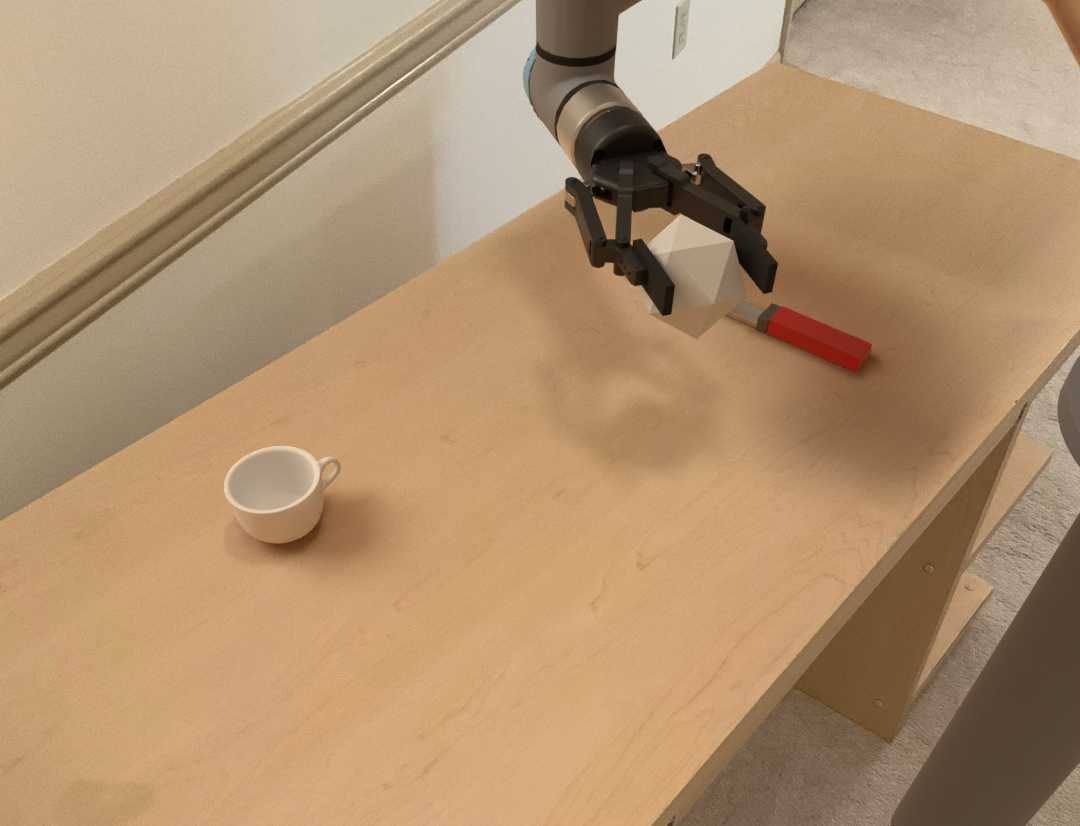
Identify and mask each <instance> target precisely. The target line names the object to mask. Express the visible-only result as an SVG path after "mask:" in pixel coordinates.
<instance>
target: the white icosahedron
mask: <svg viewBox="0 0 1080 826" xmlns="http://www.w3.org/2000/svg"><path fill="white" fill-rule="evenodd" d="M646 245H647V247H648V248H649V249H650V251H651V252H652V254H653V255H654V256H655V258H656V259H657V261H658V262H659V263H660V265H661V266H662V268H663V269H664V270H665V272H666V273H667V275H668V276H669V277H670V279H671V280H672V282H673V283H674V284H675V290H674V298H673V306H672V313H671V315H666V316H662V315H661V313H660V312H659V310H658V309H657V307H656V306H655V304H654V303H653V302H652V300H651V299H650V297H649V296H648V294H647V293H646V291H645V290H644V288H643V287H642V285H640V286H639V289H640V292H641V295H642V298H643V301H644V304H645V307H646V310H647V312H648V314H649V315H650V316H652V317H654V318H655V319H658V320H660V321H661V322H663V323H665V324H667V325H668V326H671V327H673V328H674V329H676V330H678V331H680V332H682V333H684V334H686V335H688V336H690V337H692V338H694V339H695V340H698V339H700V337H702V336H703V335H704V334H705V333H706V332H707V331H708V330H710V329H711V328H712V327H713V326H714V325H715V324H717V323H718V322H719V321H720V320H721V319H722V318H724V317H725V316H727V315H726V314H727V313H728V312H730V311H731V310H732V309H733V308H734V307H735V306H737V305H738V304H739V303H740V302H741V301H743V300H744V301H745V299H746V298H747V297H748V294H747V289H746V285H745V281H744V277H743V273H742V270H741V265H740V264H739V261H738V257H737V253H736V249H735V245H734V241H733V240H731V239H729V238H727V237H725V236H723V235H721V234H719V233H717V232H715V231H713V230H711V229H709V228H707V227H705V226H703V225H701V224H699V223H697V222H695V221H693V220H691V219H690V218H688V217H686V216H684V215H682V214H679V215H678V216H677V217H676V218H675V219H674V220H672V221H671V223H669V225H667V226H666V227H665V228H664V229H663V230H662V231H660V232H659V233H658V234H657V235H656V236H654V237H653V239H651V240H650V241H649V242H648V243H647V244H646Z"/></svg>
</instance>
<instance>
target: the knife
mask: <svg viewBox="0 0 1080 826" xmlns="http://www.w3.org/2000/svg"><path fill="white" fill-rule="evenodd" d="M725 316H727V317H729V318H732V319H734V320H735V321H739V322H740V323H742V324H746V325H748V326H750V327H752V328H755V330H757V331H759V332H761V333H763V334H766V335H770V336H771V337H774V338H776V339H778V340H781V341H783V342H786V343H788V344H790V345H792V346H794V347H796V348H799V349H801V350H804V351H805V352H808V353H810V354H813V355H815V356H817V357H820V358H822V359H824V360H827V361H829V362H831V363H833V364H836V365H838V366H840V367H842V368H845V369H847V370H849V371H852V372H853V373H857V372H858V371H859V369H860V368H861V367H862V366H863V364H865V362H867V360H868V359H869V356H870V353H871V351H872V347H873V343H871V342H869V341H867V340H864V339H862V338H859V337H857V336H855V335H852V334H850V333H847V332H846V331H843V330H840V329H838V328H836V327H833V326H831V325H828V324H826V323H824V322H822V321H819V320H817V319H814V318H812V317H810V316H808V315H805V314H804V313H801V312H798V311H795V310H794V309H791V308H789V307H786V306H784V305H782V306H781V305H779V304H776V303H774V302H772V303H771V304H770V305H768V306H767V307H766V308H763V307H760V306H758V305H756V304H753V303H751V302H748V301H746V300H745V299H744V300H743V301H741V302H740V303H739V304H738V305H737V306H735V307H734V308H733V309H732V310H731V311H730V312H728V313H727V314H726V315H725Z"/></svg>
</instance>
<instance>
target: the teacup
mask: <svg viewBox="0 0 1080 826" xmlns="http://www.w3.org/2000/svg"><path fill="white" fill-rule="evenodd" d="M330 463H331V464H332V463H334V468H333V470H332V472H331V473H330V474H329V475H328V476H327V477H325V478H324V479H323V474H324V471H325V469H326V467H327V466H328V465H329V464H330ZM341 470H342V464H341V462H340V460H339V458H337V457H335V456H333V455H330V456H325V457H323V458H321V459H319V460H317V459H316V458H315V456H313V455H312V453H309V451H307V450H304V449H302V448H299V447H297V446H296V447H295V446H292V445H291V446H290V445H273V446H267V447H263V448H260V449H257V450H254V451H251V452H249V453H248V454H246V455H244V456H242V457H241V458H240V459H239V460H238V461H236V462H235V463H234V464H233V465H232V466H231V467H230V468H229V470H228V471H227V474H226V475H225V478H224V481H223V491H224V495H225V497H226V500H227V502H228V504H229V507H230V509H231V511H232V513H233V515H234V517H235V518H236V520H237V522H238V523H239V525H240V526H241V527H242V529H243V530H244V531H245V532H246V533H247V534H248V535H249V536H251V537H253V538H254V539H256V540H259V541H260V542H264V543H268V544H278V545H279V544H287V543H291V542H294V541H297V540H299V539H301V538H303V537H304V536H306V535H307V534H309V533H310V532H311V531H312V530H313V529H314V528H315V527H316V525H317V524H318V522H319V521H320V518H321V516H322V514H323V509H324V505H325V504H324V503H325V494H324V491H326V489H327V488H328V487H329V486H330V485H331V484H332V483H333V482H334V480H336V479H337V478H338V476H339V474H340V473H341Z"/></svg>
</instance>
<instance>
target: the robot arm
mask: <svg viewBox="0 0 1080 826" xmlns="http://www.w3.org/2000/svg"><path fill="white" fill-rule="evenodd" d="M641 1H642V0H535V46H534V48H533V49H532V50H531V51H530V53H529V55H528V58H527V59H526V62H525V65H524V66H523V71H522V85H523V89H524V93H525V95H526V97H527V99H528V101H529V104H530V105H531V107H532V111H533V112H534V113H535V115H536V117H537V118H538V119H539V121H541V122H542V124H543V125H544V126H545V127H546V129H547V130H548V132H549V133H550V134H551V136H552V137H553V138H554V140H555V141H556V142H557V144H558V145H559V146H560V148H561V149H562V150H563V152H564V153H565V155H566V156H567V158H568V159H569V160H570V162H571V163H572V165H573V166H574V168H575V169H576V170H577V172H578V175H579V176H580V178H581V179H582V180H583V181H581V180H580V179H579V178H577V177H576V176H575V177H574V176H570V177H567V178H565V179H564V208H565V209H566V210H567V212H569V213H570V214H571V215H572V217H574V218H575V221H576V224H577V227H578V231H579V233H580V236H581V237H580V238H581V240H582V243H583V246H584V249H585V252H586V255H587V259H588V261H589V264H590V266H591V267H593V268H596V269H601V268H604V267H605V266H606V264H613V266H612V267H613V268H612V270H613V271H612V272H613V274H614V276H616V277H617V276H618V277H625V278H626V279H627V281H628V282H629V284H631V285H632V286H634V287H640V285H642V287H643V288H644V290H645V291H646V293H647V294H648V296H649V297H650V299H651V300H652V302H653V303H654V304H655V306H656V307H657V309H658V310H659V312H660V313H661V315H662V316H666V315H671V313H672V306H673V298H674V290H675V284H674V283H673V282H672V280H671V279H670V277H669V276H668V275H667V273H666V272H665V270H664V269H663V268H662V266H661V265H660V263H659V262H658V261H657V259H656V258H655V256H654V255H653V254H652V252H651V251H650V249H649V248H648V247H647V244H646V242H645V241H644V240H643V238H635V239H633V240H632V239H631V238H632V218H633V217H632V215H633V214H632V213H634V214H635V213H641V212H645V211H647V210H649V209H662V210H663V211H665V212H667V213H669V214H671V215H673V216H677V215H683V216H685V217H687V218H689V219H691V220H693V221H695V222H697V223H699V224H701V225H703V226H705V227H707V228H709V229H711V230H713V231H715V232H717V233H719V234H721V235H723V236H725V237H727V238H729V239H731V240H733V241H734V245H735V249H736V253H737V257H738V261H739V265H740V268H742V269H743V270H744V272H745V273H746V274H747V276H748V277H749V278H750V279H751V281H753V282H752V283H754V284H755V286H756V287H757V288H758V289H759V290H760V292H761V293H762V294H763V295H766V294H770V293H773V291H774V285H775V282H776V276H777V271H778V267H779V262H778V261H777V260H776V259H775V257H774V256H773V255H772V254H771V253H770V251H768V246H769V245H768V240H767V239H766V238H765V237H764V235H763V234H762V230H763V226H764V220H765V216H766V211H767V210H766V209H767V206H766V204H764V203H763V202H762V201H760V199H758V198H757V197H755V196H754V195H753V194H752V193H750V192H749V191H748V190H747V189H746V188H744V187H743V186H742V185H741V184H739V183H738V182H737V181H735V180H734V179H733V178H732V177H731V176H729V175H728V174H726V173H725V172H724V171H723V170H722V169H720V168H719V167H718V166H717V165H716V163H715V161H714V158H713V156H711V155H710V154H709V153H705V152H704V153H699V154H698V155H697V160H696V162H689V163H682V162H681V161H680V160H679V159H678V158H676V157H675V156H672V155H670V154H669V153H668V151H667V149H666V147H665V145H664V142H663V140H662V138H661V136H660V135H659V133H658V132H657V130H655V128H654V127H653V126H652V125H651V123H649V121H648V120H647V119H646V117H645V116H644V115H643V113H642V112H641V111H640V110H639V109H638V107H637V106H636V105H635V103H633V101H632V100H631V99H630V98H629V97H628V96H627V95H626V93H625V92H624V91H623V90H622V88H621V87H620V86H619V85H618V83H617V82H616V81H615V66H616V55H617V53H616V52H617V45H618V30H619V17H620V15H622V14H623V13H624V12H626V11H628V10H629V9H630V8H632V7H633V6H635V5H637V4H638V3H640V2H641ZM1040 1H1041V2H1042V3H1044V4H1045V5H1046V7H1047V9H1048V11H1049V13H1050V15H1051V16H1052V19H1053V20H1054V22H1055V24H1056V26H1057V29H1058V30H1059V31H1060V33H1061V35H1062V37H1063V39H1064V41H1065V43H1066V45H1067V46H1068V48H1069V51H1070V52H1071V54H1072V57H1073V58H1074V60H1075V62H1076V64H1077V66H1078V68H1080V0H1040ZM593 198H594V199H595V200H598V201H600V202H603V203H606V204H608V205H611V206H613V207H616V213H615V215H616V216H615V236H614V238H607V234H606V231H605V228H604V226H603V224H602V220H601V218H600V214H599V212H598V209H597V206H596V203H595V200H594V199H593ZM631 240H632V243H631Z"/></svg>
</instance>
